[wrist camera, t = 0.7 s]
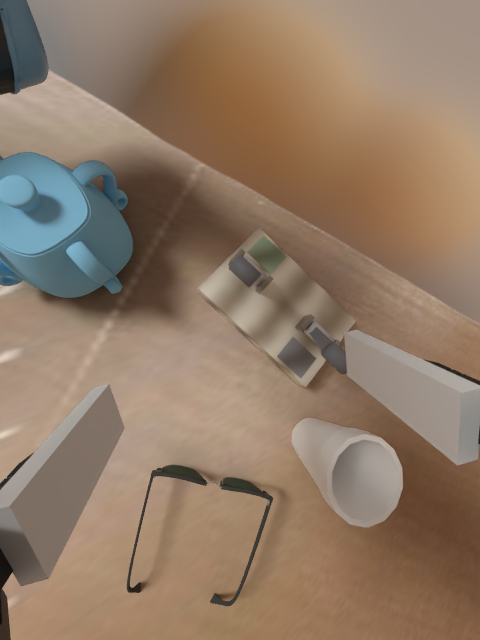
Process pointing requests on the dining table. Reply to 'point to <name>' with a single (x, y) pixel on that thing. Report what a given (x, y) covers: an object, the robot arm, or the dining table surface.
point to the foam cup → (350, 470)
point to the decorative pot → (61, 226)
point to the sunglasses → (195, 477)
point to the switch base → (277, 307)
